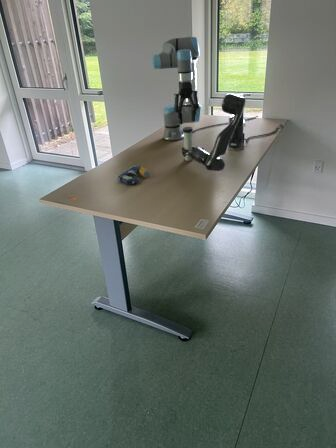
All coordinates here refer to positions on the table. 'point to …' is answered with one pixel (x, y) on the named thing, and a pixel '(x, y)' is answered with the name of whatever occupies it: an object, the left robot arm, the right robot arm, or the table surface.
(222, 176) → the table surface
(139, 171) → the spray gun
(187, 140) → the bottle
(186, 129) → the lid
